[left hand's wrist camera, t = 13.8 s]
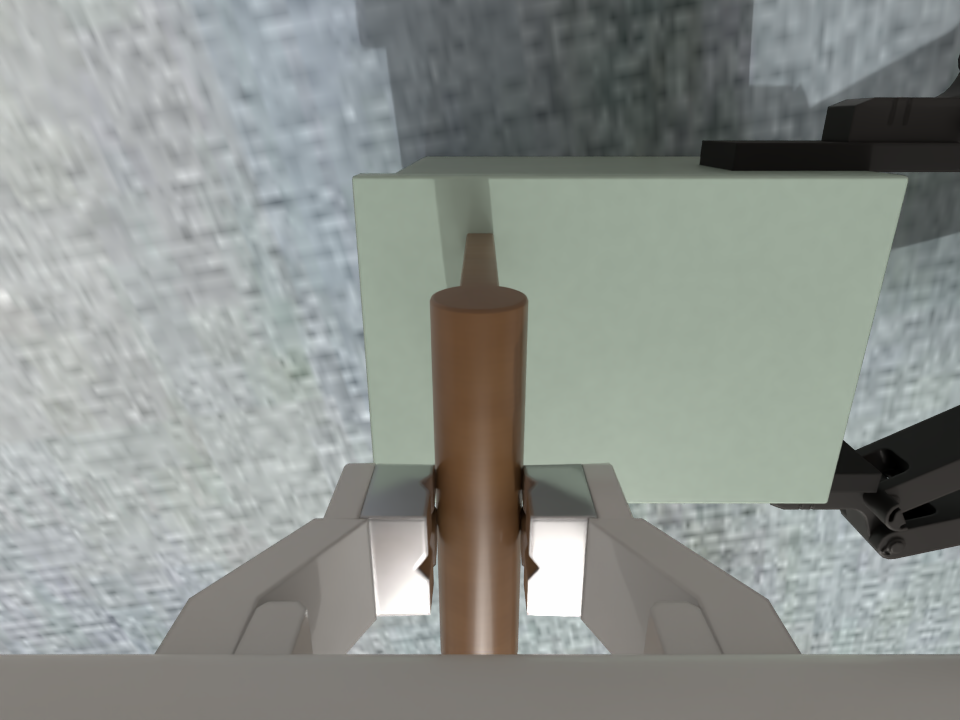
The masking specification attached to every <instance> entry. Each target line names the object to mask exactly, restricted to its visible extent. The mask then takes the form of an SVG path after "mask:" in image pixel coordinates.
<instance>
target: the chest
mask: <svg viewBox="0 0 960 720" xmlns="http://www.w3.org/2000/svg"><path fill="white" fill-rule="evenodd" d="M699 164H700V156H426V157H424V158H422V159H420V160H418V161H417V162H415V163H413V164H411V165H409V166H408V167H406V168H404V169H402V170H400V171H399V172H397V173H609V174H886V173H881V172H872V171H731V170H725V169H720V168H714V167H708V166H703V165H699Z"/></svg>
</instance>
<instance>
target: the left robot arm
mask: <svg viewBox="0 0 960 720" xmlns="http://www.w3.org/2000/svg"><path fill="white" fill-rule="evenodd" d="M521 490H522V500H523V507H522V509H521V525H520V544H521V558H522V565H523V566H524V590H525V599H526V609H527V615H550V616H581V620H582V621H583V622H584V623H585V624H586V625H587V626H588V628H589V629H590V630H591V631H592V632H593V633H594V634H595V636H596V637H597V638H598V639H599V640H600V641H601V642H602V644H603V645H604V646H605V647H606V648H607V649H608V650H609V652H610V653H611V654H346V653H347V652H348V651H349V650H350V649H351V648H352V647H353V645H354V644H355V643H356V642H357V641H358V640H359V639H360V637H361V636H362V635H363V634H364V633H365V632H366V631H367V630H368V628H369V627H370V626H371V625H372V624H373V623H374V622H375V620H376V616H406V615H430V613H431V604H432V594H433V585H434V579H433V567H434V566H435V565H436V554H437V508H436V507H435V496H436V469H435V465H431V464H380V463H378V464H376V463H349V464H347V465H345V467H344V469H343V471H342V473H341V476H340V478H339V481H338V483H337V486H336V488H335V491H334V493H333V496H332V498H331V501H330V503H329V506H328V508H327V511H326V513H325V516H324V518H316V519H313V520H312V521H310V522H309V523H307V524H305V525H304V526H302V527H301V528H299V529H298V530H296V531H294V532H293V533H291V534H290V535H288V536H287V537H285V538H283V539H282V540H280V541H279V542H277V543H276V544H274V545H272V546H271V547H269V548H268V549H266V550H265V551H263V552H261V553H260V554H258V555H257V556H255V557H254V558H252V559H250V560H249V561H247V562H246V563H244V564H243V565H241V566H239V567H238V568H236V569H235V570H233V571H232V572H230V573H228V574H227V575H225V576H224V577H222V578H221V579H219V580H217V581H216V582H214V583H213V584H211V585H210V586H208V587H207V588H205V589H203V590H202V591H200V592H199V593H197V594H196V595H194V596H192V597H191V598H189V599H188V601H187V603H186V604H185V606H184V607H183V609H182V611H181V612H180V614H179V616H178V617H177V619H176V620H175V622H174V624H173V625H172V627H171V628H170V630H169V632H168V633H167V635H166V636H165V638H164V640H163V641H162V643H161V644H160V646H159V648H158V649H157V651H156V653H155V654H0V720H960V654H801V652H800V651H799V649H798V648H797V646H796V644H795V643H794V641H793V639H792V638H791V636H790V634H789V633H788V631H787V629H786V628H785V626H784V624H783V623H782V621H781V620H780V618H779V616H778V615H777V613H776V611H775V610H774V608H773V606H772V605H771V603H770V601H769V600H768V599H767V598H765V597H764V596H762V595H760V594H759V593H757V592H756V591H754V590H753V589H751V588H750V587H748V586H746V585H745V584H743V583H742V582H740V581H739V580H737V579H736V578H734V577H732V576H731V575H729V574H728V573H726V572H725V571H723V570H722V569H720V568H718V567H717V566H715V565H714V564H712V563H711V562H709V561H708V560H706V559H705V558H703V557H701V556H700V555H698V554H697V553H695V552H694V551H692V550H691V549H689V548H687V547H686V546H684V545H683V544H681V543H680V542H678V541H677V540H675V539H673V538H672V537H670V536H669V535H667V534H666V533H664V532H663V531H661V530H659V529H658V528H656V527H655V526H653V525H652V524H650V523H649V522H647V521H645V520H644V519H642V518H633V515H632V513H631V510H630V508H629V505H628V503H627V500H626V498H625V495H624V493H623V490H622V488H621V485H620V483H619V480H618V478H617V475H616V473H615V470H614V468H613V465H611V464H610V463H591V464H552V465H523V466H522V486H521Z"/></svg>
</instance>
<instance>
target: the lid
mask: <svg viewBox="0 0 960 720" xmlns="http://www.w3.org/2000/svg"><path fill="white" fill-rule="evenodd" d="M352 184H353V197H354V210H355V224H356V237H357V250H358V264H359V277H360V290H361V303H362V317H363V330H364V343H365V357H366V370H367V383H368V397H369V410H370V423H371V437H372V450H373V463H376V464H378V463H380V464H431V465H435V469H436V496H435V503H436V508H437V546H438V578H439V609H440V640H441V654H517V652H518V628H519V595H520V563H521V544H520V525H521V509H522V503H523V500H522V490H521V486H522V466H523V465H552V464H591V463H610V464H611V465H613V468H614V470H615V473H616V475H617V478H618V480H619V483H620V485H621V488H622V490H623V493H624V495H625V498H626V500H627V503H827V501H828V497H829V493H830V490H831V486H832V482H833V478H834V474H835V470H836V466H837V462H838V458H839V454H840V450H841V446H842V442H843V438H844V434H845V430H846V426H847V422H848V418H849V414H850V410H851V406H852V402H853V398H854V394H855V390H856V386H857V382H858V378H859V374H860V370H861V366H862V362H863V358H864V354H865V350H866V347H867V343H868V339H869V335H870V331H871V327H872V323H873V319H874V315H875V311H876V307H877V303H878V299H879V295H880V291H881V287H882V283H883V279H884V275H885V271H886V267H887V263H888V259H889V255H890V251H891V247H892V243H893V239H894V235H895V231H896V227H897V223H898V219H899V215H900V211H901V207H902V204H903V200H904V196H905V192H906V188H907V184H908V177H907V176H905V175H897V174H609V173H361V174H358V175H356V176H353V179H352Z"/></svg>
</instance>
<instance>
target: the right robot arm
mask: <svg viewBox="0 0 960 720" xmlns="http://www.w3.org/2000/svg"><path fill="white" fill-rule="evenodd" d="M958 68H959V70H960V55H959V58H958ZM699 165H703V166H708V167H714V168H720V169H725V170H731V171H872V172H960V73H959V75H958V76H957V78H956V80H955V81H954V82H953V84H952V85H951V87H950V88H948V89H947V90H946V91H945V92H944V93H942V94H941V95H939V96H937V97H935V98H862V99H847V100H844V101H842V102H839V103H837V104H834V105H832V106H829V107H828V110H827V115H826V120H825V125H824V130H823V135H822V140H821V141H702V148H701V156H700V164H699ZM887 477H888V478H887ZM770 505H773V506H775V507H778V508H781V509H840V511H841V514H842V515H843V516H844V517H845V518H846V519H847V520H848V521H849V522H850V523H851V524H852V526H853V527H854V528H855V529H856V530H857V531H858V532H859V533H860V534H861V535H862V536H863V537H864V538H865V540H866V541H867V542H868V543H869V544H870V545H871V546H872V547H873V548H874V549H875V550H876V551H877V552H878V553H879V554H880V555H881V556H882V557H883V558H886V559H896V558H901V557H906V556H911V555H916V554H920V553H925V552H930V551H935V550H939V549H944V548H949V547H954V546H959V545H960V405H959V406H956V407H954V408H952V409H949V410H947V411H945V412H942V413H940V414H938V415H936V416H933V417H931V418H929V419H926V420H924V421H922V422H919V423H917V424H915V425H913V426H910V427H908V428H906V429H903V430H901V431H899V432H896V433H894V434H892V435H889V436H887V437H885V438H883V439H880V440H878V441H876V442H873V443H871V444H869V445H866V446H864V447H862V448H859V449H857V450H854V449H853V448H852V447H851V446H849V445H848V444H847V443H846V442H845V441H844V440H843V442H842V446H841V450H840V454H839V458H838V462H837V466H836V470H835V474H834V478H833V482H832V486H831V490H830V493H829V497H828V501H827V503H770Z"/></svg>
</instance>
